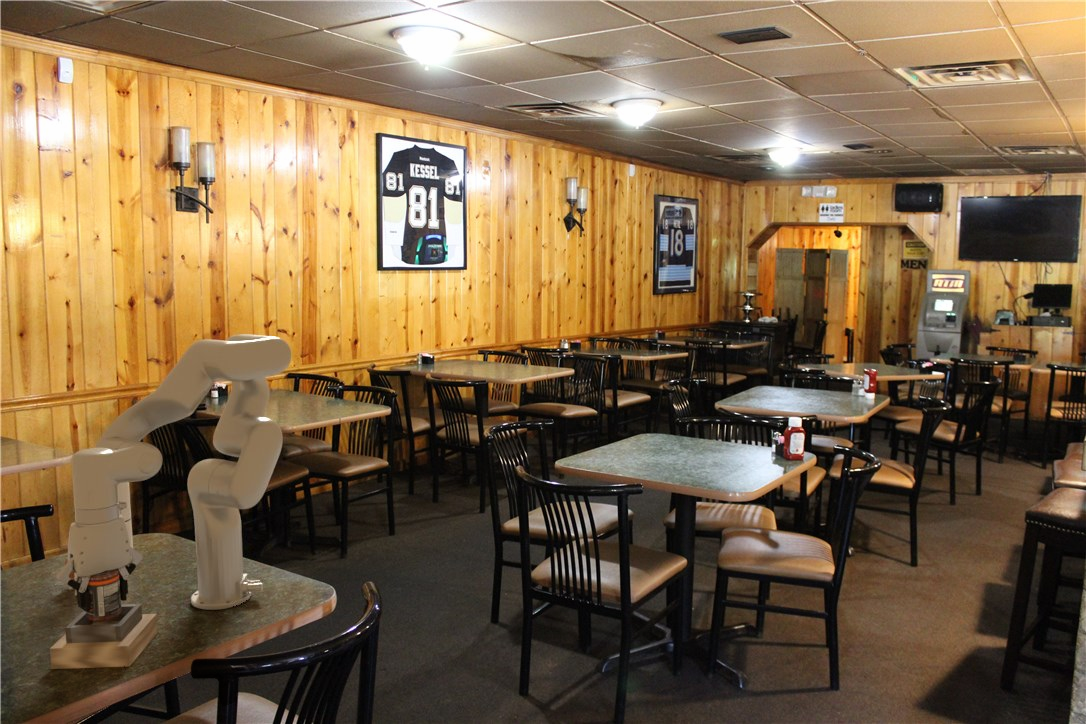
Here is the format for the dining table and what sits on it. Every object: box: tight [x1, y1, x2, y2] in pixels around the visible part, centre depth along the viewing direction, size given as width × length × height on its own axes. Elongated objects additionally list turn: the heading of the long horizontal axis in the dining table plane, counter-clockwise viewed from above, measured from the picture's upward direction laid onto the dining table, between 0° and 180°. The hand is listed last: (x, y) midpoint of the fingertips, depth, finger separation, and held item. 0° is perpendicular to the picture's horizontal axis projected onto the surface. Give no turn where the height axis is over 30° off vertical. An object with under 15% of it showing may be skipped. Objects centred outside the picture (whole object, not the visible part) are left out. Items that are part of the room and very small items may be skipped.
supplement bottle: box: [87, 569, 122, 622], centre depth 162 cm, size 6×6×11 cm
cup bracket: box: [49, 603, 159, 670], centre depth 163 cm, size 14×14×7 cm
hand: (103, 603), depth 162 cm, fingers closed on supplement bottle, 6 cm apart
